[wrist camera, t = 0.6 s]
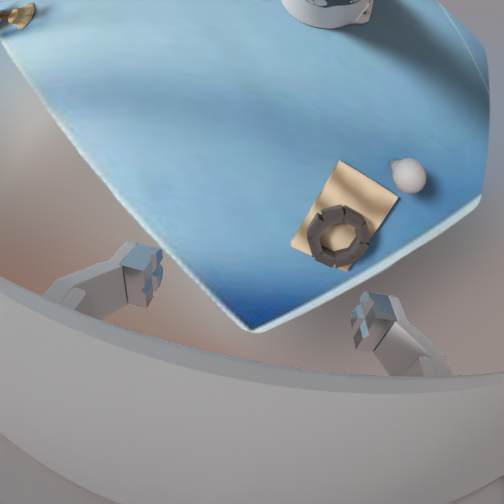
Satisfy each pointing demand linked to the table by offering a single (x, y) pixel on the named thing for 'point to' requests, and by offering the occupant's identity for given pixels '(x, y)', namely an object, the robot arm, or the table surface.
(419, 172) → the lightbulb
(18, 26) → the hand bell
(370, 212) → the socket board
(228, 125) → the table surface
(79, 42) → the table surface
